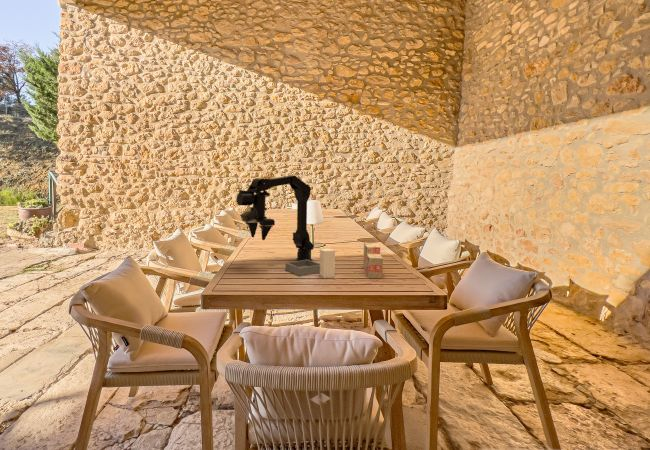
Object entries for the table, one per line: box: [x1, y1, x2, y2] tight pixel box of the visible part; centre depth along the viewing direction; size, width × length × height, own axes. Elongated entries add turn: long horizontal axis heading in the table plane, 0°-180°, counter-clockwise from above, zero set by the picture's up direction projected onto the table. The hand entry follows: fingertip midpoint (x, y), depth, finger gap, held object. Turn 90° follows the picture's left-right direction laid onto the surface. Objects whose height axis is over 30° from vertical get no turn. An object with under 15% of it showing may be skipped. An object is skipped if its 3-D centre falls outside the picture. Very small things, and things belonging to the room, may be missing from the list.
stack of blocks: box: [363, 242, 384, 279], centre depth 175 cm, size 21×6×12 cm, turn 0°
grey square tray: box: [284, 259, 320, 277], centre depth 175 cm, size 13×13×4 cm
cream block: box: [319, 248, 336, 279], centre depth 167 cm, size 5×5×12 cm
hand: (258, 238), depth 176 cm, fingers open, 9 cm apart
